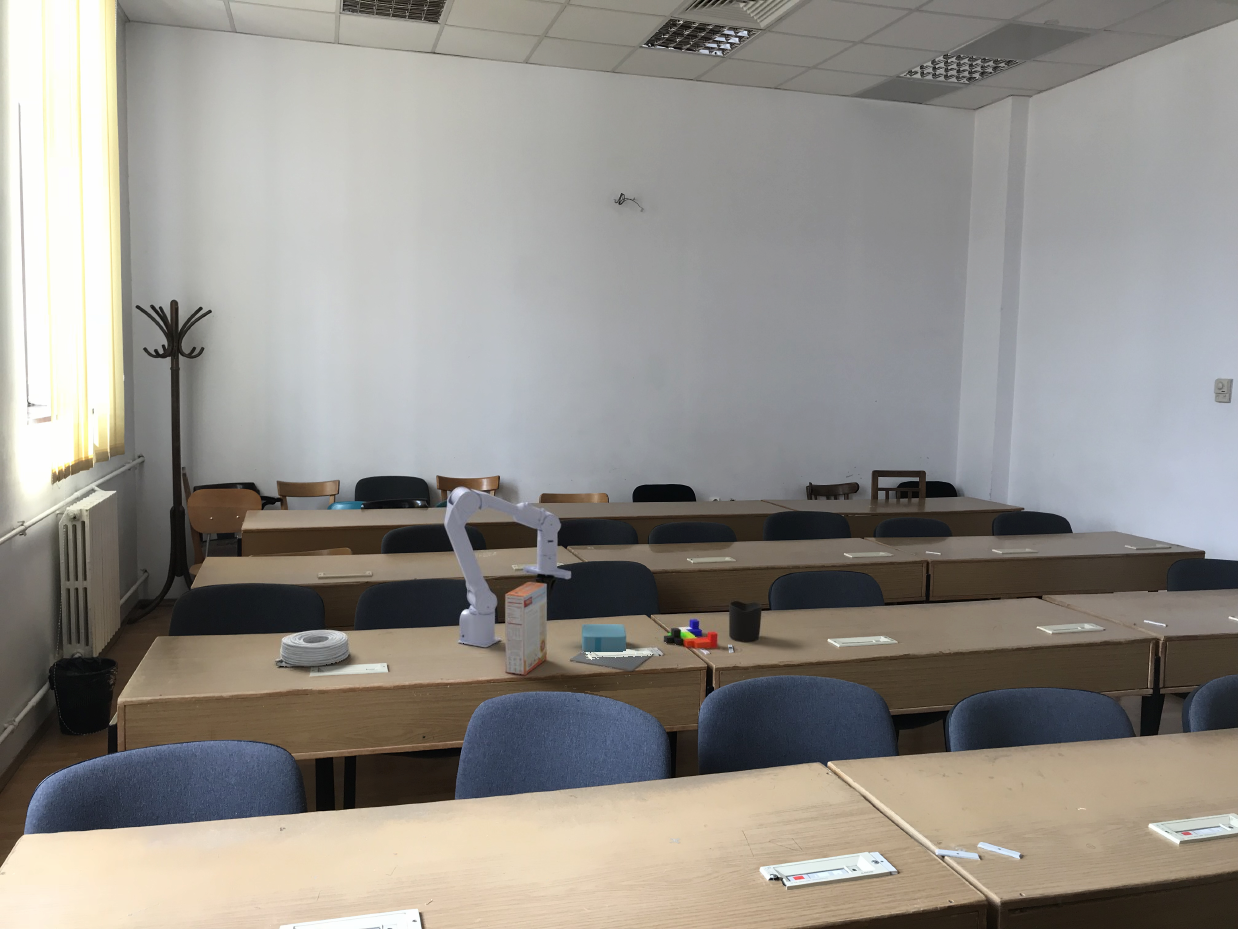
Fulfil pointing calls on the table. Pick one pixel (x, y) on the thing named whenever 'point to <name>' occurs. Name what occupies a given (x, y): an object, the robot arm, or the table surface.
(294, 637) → the cable
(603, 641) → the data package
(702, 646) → the building blocks
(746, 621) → the pen holder
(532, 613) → the cracker box
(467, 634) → the robot arm
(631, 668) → the mat
